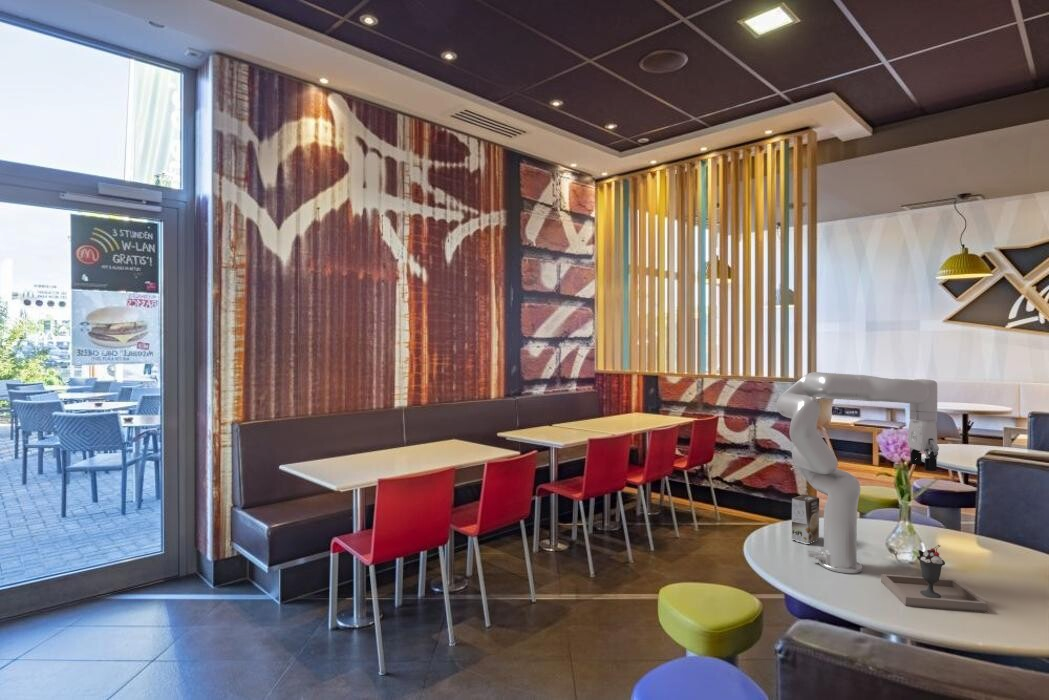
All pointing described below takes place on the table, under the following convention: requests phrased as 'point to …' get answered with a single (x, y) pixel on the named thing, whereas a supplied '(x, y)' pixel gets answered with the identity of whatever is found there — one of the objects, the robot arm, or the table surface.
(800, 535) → the coffee box
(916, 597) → the tray
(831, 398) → the robot arm
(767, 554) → the table surface
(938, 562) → the sundae
